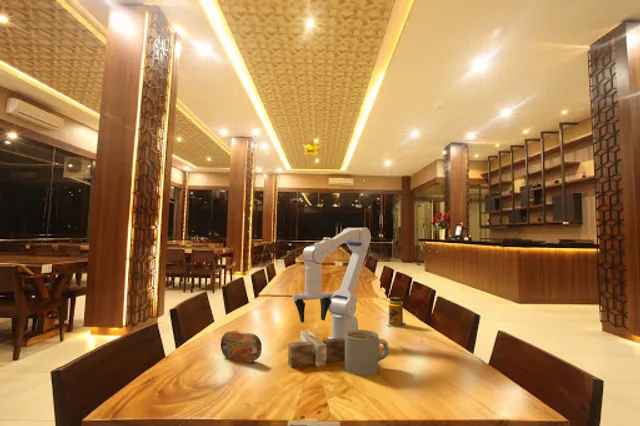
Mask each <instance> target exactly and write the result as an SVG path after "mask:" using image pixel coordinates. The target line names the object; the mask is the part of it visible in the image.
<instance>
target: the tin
mask: <svg viewBox="0 0 640 426" xmlns="http://www.w3.org/2000/svg"><path fill="white" fill-rule="evenodd" d="M262 345H263V344H262V341H261V339H260V338H259V336H258V335H257V334H255V333H250V332H245V331H239V330H238V331H237V330H232V331H227V332H225V333H224V334H223V335H222V337H221V340H220V349H221V353H222V354H223V356H224V357H225V358H226V359H228V360H231V361H235V362H241V363H245V364H251V363H253V362H255V361H257V360H258V359H259V358H260V357H261V355H262V350H263V349H262V348H263V347H262Z"/></svg>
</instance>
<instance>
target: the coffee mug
mask: <svg viewBox="0 0 640 426" xmlns="http://www.w3.org/2000/svg"><path fill="white" fill-rule="evenodd" d="M380 345H383V352H382V353H379V347H380ZM389 352H390V347H389V343H388V341H387V340H385V339H383V338H379V334H378V333H377V332H375V331H372V330H369V329H360V328H358V329H357V330H349V331H347V332H346V333H345V360H344V370H345V369H346V370H347V371H348V372H347V371H346V370H345V371H346V372H347V373H349V372H350V373H349V374H351V373H353V374H352V375H354V374H356V375H355V376H360V375H364V376H363V377H368V376H367V375H369V376H372V375H376V374H377V373H378V372H379V362H381V361H383V360H385V358H387V357H388V355H389ZM365 375H366V376H365Z"/></svg>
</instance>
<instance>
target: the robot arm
mask: <svg viewBox="0 0 640 426" xmlns="http://www.w3.org/2000/svg"><path fill="white" fill-rule="evenodd" d="M371 239H372V235H371V232H370V230H369V228H368V227H367V226H366V227H347V228H344V229H342V231H341V232H340V233H338V234H336V235H335V236H334V237H332V238H331V237H325V236H324V237H323V238H322V240H320V241H319V242H315V243H313V245H312V246H310V245H307V246H306V247H305V248H304V249H303V251H302V253H301V259H302V261H303V265H304V292H303V293H294V294H291V296H292V297H291V300H292V301H293V302H294V304H295V306H296V309H297V312H298V316H299V322H301V323H305V307H306V302H305V301H310V300H319V301H320V320H321V321H323V322H324V321H326V317H327V313H328V312H329V313H330V316H331V321H332V322H331V336H328V337H327V339H333V338H343V339H344V340H345V333H346V332H347V331H349V330H357V329H359V321H358V318H357V317H356V316H355V314H356V310H357V302H358V299H357V296H356V295H355V293H354V292H355V289H356V286H357V282H358V281H359V278H360V274H361V271H362V268H363V265H364V262H365V259H366V255H367V253H368V250H369V246H370V243H371ZM342 244H346V246H347V248H348V249H349V250H350V251H351V256H350V259H349V262H348V264H347V267H346V269H345V273H344V275H343V278H342V282H341V284H340V288H339V289H337V290H336V291H334V292H331V291H330V292H329V291H328V292H323V291H322V268H323V267H322V266H323V265H322V263H323V262H325V259H326V258H327V257H328V256H329V255H331V254H333V253H335V251H336V250H337V248H338V247H339V246H340V245H342Z"/></svg>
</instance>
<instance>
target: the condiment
mask: <svg viewBox="0 0 640 426" xmlns="http://www.w3.org/2000/svg"><path fill="white" fill-rule="evenodd" d="M403 308H404V305H403V302H402V298H401V297H397V296H392V297H389V304H388V323H387V324H386V326H387V327H392V328H405V325H406V322H405V321H404V315H403V314H404V311H403V310H404V309H403Z"/></svg>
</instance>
